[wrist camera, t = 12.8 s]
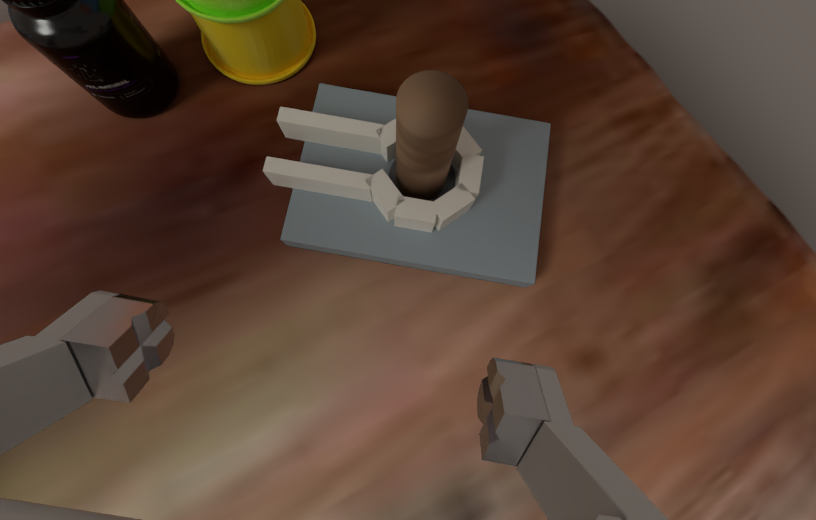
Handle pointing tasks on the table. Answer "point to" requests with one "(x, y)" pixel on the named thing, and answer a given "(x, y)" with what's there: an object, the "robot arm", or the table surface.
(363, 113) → the keyhole board
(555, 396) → the robot arm
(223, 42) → the stacking cups
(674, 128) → the table surface
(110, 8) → the supplement bottle
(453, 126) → the walnut dowel
